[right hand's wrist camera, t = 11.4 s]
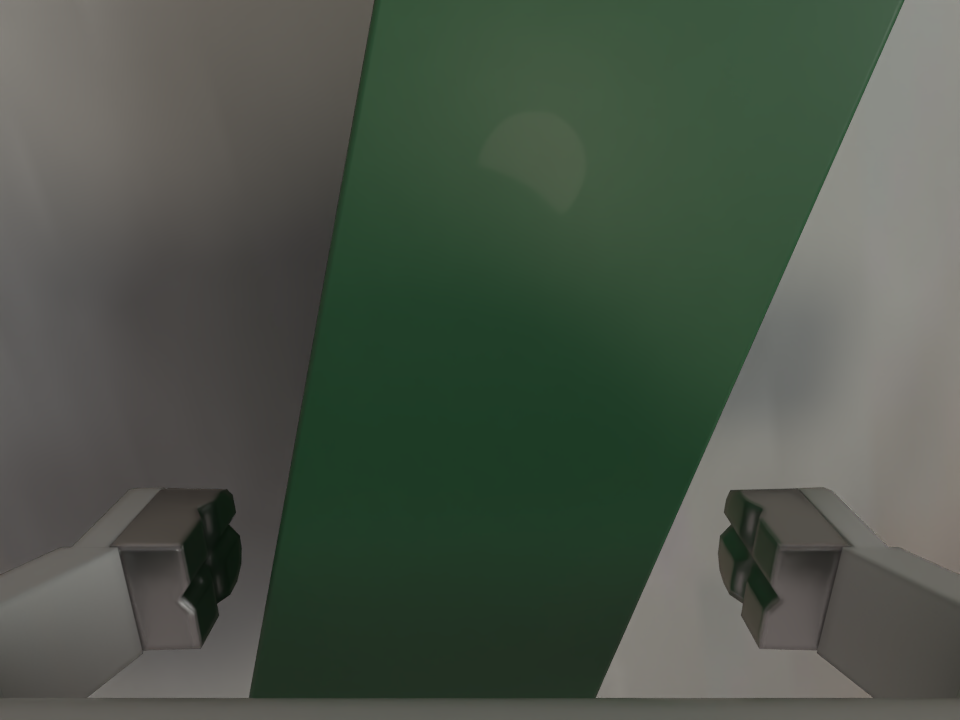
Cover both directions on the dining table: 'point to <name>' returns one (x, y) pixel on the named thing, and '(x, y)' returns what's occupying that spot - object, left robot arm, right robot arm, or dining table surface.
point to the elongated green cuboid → (538, 324)
